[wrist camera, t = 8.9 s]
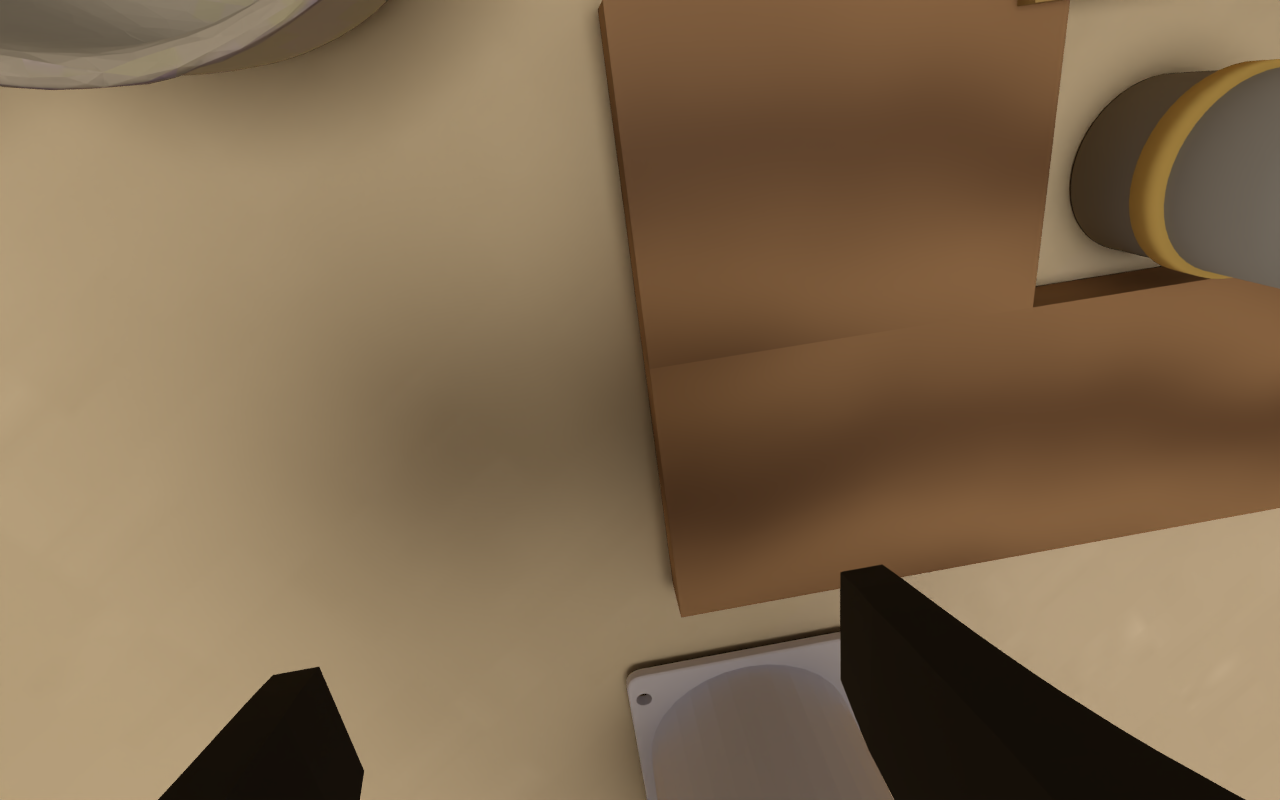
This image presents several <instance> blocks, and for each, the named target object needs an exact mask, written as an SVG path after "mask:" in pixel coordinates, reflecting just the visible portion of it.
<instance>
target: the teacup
mask: <svg viewBox="0 0 1280 800" xmlns="http://www.w3.org/2000/svg"><path fill="white" fill-rule="evenodd" d="M386 1H387V0H0V86H2V87H13V88H28V89H44V90H65V89H92V88H105V87H117V86H130V85H143V84H151V83H155V82H159V81H163V80H167V79H171V78H175V77H178V76H181V75H197V74H209V73H219V72H229V71H235V70H241V69H246V68H251V67H257V66H262V65H267V64H273V63H276V62H279V61H283V60H286V59H289V58H292V57H296V56H299V55H302V54H305V53H307V52H309V51H311V50H313V49H315V48H318V47H320V46H322V45H324V44H326V43H328V42H330V41H333V40H335V39H337V38H339V37H340V36H342V35H343V34H345V33H346V32H348V31H350V30H351V29H353V28H354V27H356V26H357V25H359V24H360V23H361V22H363V21H364V20H365V19H367V18H368V17H369V16H371V15H372V14H373V13H375V12H376V11H377V10H378V9H379V8H380V7H381V6H382V5H383V4H384V3H385V2H386Z"/></svg>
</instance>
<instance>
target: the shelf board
mask: <svg viewBox="0 0 1280 800" xmlns="http://www.w3.org/2000/svg"><path fill="white" fill-rule="evenodd" d="M1069 4H1070V0H602V2H601V4H600V6H599V8H598V13H599V21H600V29H601V36H602V44H603V52H604V59H605V67H606V75H607V82H608V90H609V98H610V105H611V113H612V121H613V128H614V136H615V143H616V151H617V159H618V166H619V174H620V182H621V189H622V197H623V205H624V212H625V220H626V228H627V235H628V243H629V251H630V258H631V266H632V274H633V281H634V289H635V297H636V304H637V312H638V319H639V327H640V335H641V342H642V350H643V358H644V365H645V373H646V381H647V388H648V396H649V404H650V411H651V419H652V427H653V434H654V442H655V450H656V457H657V465H658V472H659V480H660V488H661V495H662V503H663V511H664V518H665V526H666V534H667V541H668V549H669V557H670V564H671V572H672V580H673V586H674V590H675V594H676V598H677V602H678V606H679V610H680V614H681V617H686V616H692V615H697V614H703V613H708V612H714V611H719V610H725V609H730V608H735V607H741V606H746V605H752V604H757V603H763V602H768V601H774V600H779V599H785V598H790V597H795V596H801V595H806V594H812V593H817V592H823V591H828V590H834V589H839V588H840V572H843V571H848V570H854V569H859V568H865V567H870V566H876V565H881V564H883V565H884V566H885V567H887V568H888V569H890V570H891V571H892V572H894V573H895V574H896V575H898V576H899V577H905V576H910V575H916V574H921V573H926V572H932V571H937V570H943V569H948V568H954V567H959V566H965V565H970V564H976V563H981V562H986V561H992V560H997V559H1003V558H1008V557H1014V556H1019V555H1025V554H1030V553H1036V552H1041V551H1047V550H1052V549H1057V548H1063V547H1068V546H1074V545H1079V544H1085V543H1090V542H1096V541H1101V540H1107V539H1112V538H1117V537H1123V536H1128V535H1134V534H1139V533H1145V532H1150V531H1156V530H1161V529H1167V528H1172V527H1177V526H1183V525H1188V524H1194V523H1199V522H1205V521H1210V520H1216V519H1221V518H1227V517H1232V516H1238V515H1243V514H1248V513H1254V512H1259V511H1265V510H1270V509H1276V508H1280V289H1279V288H1274V287H1270V286H1266V285H1262V284H1258V283H1254V282H1249V281H1245V280H1241V279H1237V278H1225V279H1210V278H1204V277H1199V276H1195V275H1191V274H1187V273H1183V272H1179V271H1175V270H1171V269H1169V268H1166V267H1163V266H1162V267H1156V268H1150V269H1144V270H1137V271H1131V272H1125V273H1118V274H1112V275H1106V276H1100V277H1093V278H1087V279H1081V280H1075V281H1068V282H1062V283H1056V284H1049V285H1043V286H1037V287H1035V285H1036V277H1037V269H1038V260H1039V252H1040V244H1041V236H1042V227H1043V219H1044V211H1045V202H1046V194H1047V186H1048V178H1049V169H1050V161H1051V153H1052V145H1053V136H1054V128H1055V120H1056V111H1057V103H1058V95H1059V87H1060V78H1061V70H1062V62H1063V54H1064V45H1065V37H1066V29H1067V20H1068V12H1069Z"/></svg>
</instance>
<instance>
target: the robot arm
mask: <svg viewBox="0 0 1280 800" xmlns="http://www.w3.org/2000/svg"><path fill="white" fill-rule="evenodd" d="M626 684H627V692H628V697H629V703H630V708H631V714H632V719H633V725H634V730H635V736H636V741H637V747H638V752H639V758H640V763H641V769H642V775H643V780H644V786H645V791H646V797H647V800H893V798H894V800H1245V799H1243V798H1241V797H1239V796H1238V795H1236V794H1234V793H1232V792H1230V791H1228V790H1227V789H1225V788H1223V787H1221V786H1219V785H1218V784H1216V783H1214V782H1212V781H1210V780H1209V779H1207V778H1205V777H1203V776H1201V775H1200V774H1198V773H1196V772H1194V771H1193V770H1191V769H1189V768H1187V767H1185V766H1184V765H1182V764H1180V763H1178V762H1176V761H1175V760H1173V759H1171V758H1169V757H1167V756H1166V755H1164V754H1162V753H1160V752H1158V751H1157V750H1155V749H1153V748H1152V747H1150V746H1148V745H1147V744H1145V743H1143V742H1142V741H1140V740H1138V739H1136V738H1135V737H1133V736H1131V735H1130V734H1128V733H1126V732H1125V731H1123V730H1121V729H1120V728H1118V727H1116V726H1115V725H1113V724H1112V723H1110V722H1109V721H1107V720H1105V719H1104V718H1102V717H1101V716H1099V715H1097V714H1096V713H1094V712H1093V711H1091V710H1089V709H1088V708H1086V707H1085V706H1083V705H1082V704H1080V703H1078V702H1077V701H1075V700H1074V699H1072V698H1070V697H1069V696H1067V695H1066V694H1064V693H1062V692H1061V691H1059V690H1058V689H1056V688H1055V687H1053V686H1052V685H1050V684H1049V683H1047V682H1046V681H1044V680H1043V679H1041V678H1040V677H1038V676H1037V675H1035V674H1034V673H1032V672H1031V671H1029V670H1028V669H1026V668H1025V667H1024V666H1022V665H1021V664H1019V663H1018V662H1016V661H1015V660H1013V659H1012V658H1011V657H1009V656H1008V655H1006V654H1005V653H1003V652H1002V651H1001V650H999V649H998V648H996V647H995V646H993V645H992V644H990V643H989V642H988V641H986V640H985V639H983V638H982V637H981V636H979V635H978V634H976V633H975V632H974V631H972V630H971V629H970V628H968V627H967V626H965V625H964V624H963V623H961V622H960V621H959V620H957V619H956V618H954V617H953V616H952V615H950V614H949V613H948V612H946V611H945V610H944V609H942V608H941V607H940V606H938V605H937V604H935V603H934V602H933V601H931V600H930V599H929V598H927V597H926V596H925V595H923V594H922V593H921V592H919V591H918V590H917V589H915V588H914V587H913V586H911V585H910V584H909V583H907V582H906V581H904V580H903V579H902V578H900V577H899V576H898V575H896V574H895V573H894V572H892V571H891V570H890V569H888V568H887V567H885V566H884V565H883V564H881V565H876V566H870V567H865V568H859V569H854V570H848V571H843V572H840V632H836V633H830V634H825V635H820V636H814V637H809V638H804V639H798V640H793V641H788V642H782V643H777V644H772V645H766V646H761V647H756V648H750V649H745V650H740V651H734V652H729V653H724V654H718V655H713V656H707V657H702V658H697V659H691V660H686V661H681V662H675V663H670V664H665V665H659V666H654V667H649V668H643V669H639V670H636V671H633V672H632V673H631V674H629V676H628V677H627V681H626ZM641 694H647V695H645V696H639V695H641ZM860 730H861V732H860ZM861 733H862V735H863V737H862V735H861ZM863 738H864V739H863ZM864 740H865V741H864ZM865 742H866V743H865ZM363 775H364V770H363V767H362V765H361V763H360V760H359V758H358V756H357V753H356V751H355V749H354V746H353V744H352V742H351V740H350V737H349V735H348V733H347V730H346V728H345V726H344V723H343V721H342V719H341V716H340V714H339V712H338V709H337V707H336V705H335V702H334V700H333V698H332V695H331V693H330V691H329V688H328V686H327V684H326V682H325V679H324V677H323V675H322V672H321V670H320V668H319V667H315V668H310V669H304V670H299V671H293V672H288V673H282V674H277V675H273V676H272V677H271V678H270V679H269V680H268V681H267V682H266V683H265V684H264V685H263V686H262V687H261V688H260V689H259V690H258V691H257V692H256V693H255V694H254V695H253V696H252V698H251V699H250V700H249V701H248V702H247V703H246V704H245V705H244V706H243V707H242V708H241V709H240V711H239V712H238V713H237V714H236V715H235V716H234V717H233V718H232V719H231V720H230V722H229V723H228V724H227V725H226V726H225V727H224V728H223V729H222V730H221V731H220V733H219V734H218V735H217V736H216V737H215V738H214V739H213V740H212V741H211V743H210V744H209V745H208V746H207V747H206V748H205V749H204V750H203V751H202V752H201V754H200V755H199V756H198V757H197V758H196V759H195V760H194V761H193V762H192V763H191V765H190V766H189V767H188V768H187V769H186V770H185V771H184V772H183V773H182V774H181V775H180V777H179V778H178V779H177V780H176V781H175V782H174V783H173V784H172V785H171V786H170V787H169V788H168V790H167V791H166V792H165V793H164V794H163V795H162V796H161V797H160V798H159V799H158V800H360V795H361V788H362V781H363ZM886 784H887V785H886ZM887 786H888V787H887ZM888 788H889V789H888ZM889 790H890V791H889ZM890 792H891V794H892V796H893V798H892V796H891V794H890Z"/></svg>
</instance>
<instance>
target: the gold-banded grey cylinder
mask: <svg viewBox="0 0 1280 800" xmlns="http://www.w3.org/2000/svg"><path fill="white" fill-rule="evenodd" d="M1071 202H1072V206H1073V211H1074V214H1075V217H1076V219H1077V221H1078V223H1079V225H1080V227H1081V228H1082V230H1083V231H1084V232H1085V233H1086V235H1087V236H1089V237H1090V238H1091V239H1092V240H1093V241H1095V242H1097V243H1098V244H1100V245H1102V246H1105V247H1108V248H1111V249H1116V250H1120V251H1124V252H1128V253H1132V254H1137V255H1141V256H1145V257H1149V258H1151V259H1152V260H1153V261H1154V262H1156V263H1158V264H1159V265H1161V266H1163V267H1166V268H1169V269H1171V270H1175V271H1179V272H1183V273H1187V274H1191V275H1195V276H1199V277H1204V278H1210V279H1225V278H1237V279H1241V280H1245V281H1249V282H1254V283H1258V284H1262V285H1266V286H1270V287H1274V288H1279V289H1280V59H1274V60H1260V61H1249V62H1242V63H1238V64H1234V65H1231V66H1228V67H1226V68H1223V69H1221V70H1217V71H1201V72H1184V73H1170V74H1162V75H1158V76H1154V77H1151V78H1148V79H1146V80H1143V81H1141V82H1139V83H1137V84H1135V85H1134V86H1132V87H1130V88H1129V89H1127V90H1126V91H1124V92H1123V93H1122V94H1120V95H1119V96H1118V97H1117V98H1116V99H1114V100H1113V101H1112V102H1111V103H1110V104H1109V105H1108V106H1107V107H1106V108H1105V109H1104V110H1103V111H1102V113H1101V114H1100V115H1099V117H1098V118H1097V119H1096V120H1095V122H1094V123H1093V125H1092V126H1091V128H1090V129H1089V131H1088V132H1087V134H1086V136H1085V138H1084V140H1083V142H1082V144H1081V146H1080V149H1079V151H1078V154H1077V157H1076V160H1075V164H1074V167H1073V173H1072V178H1071Z"/></svg>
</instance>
